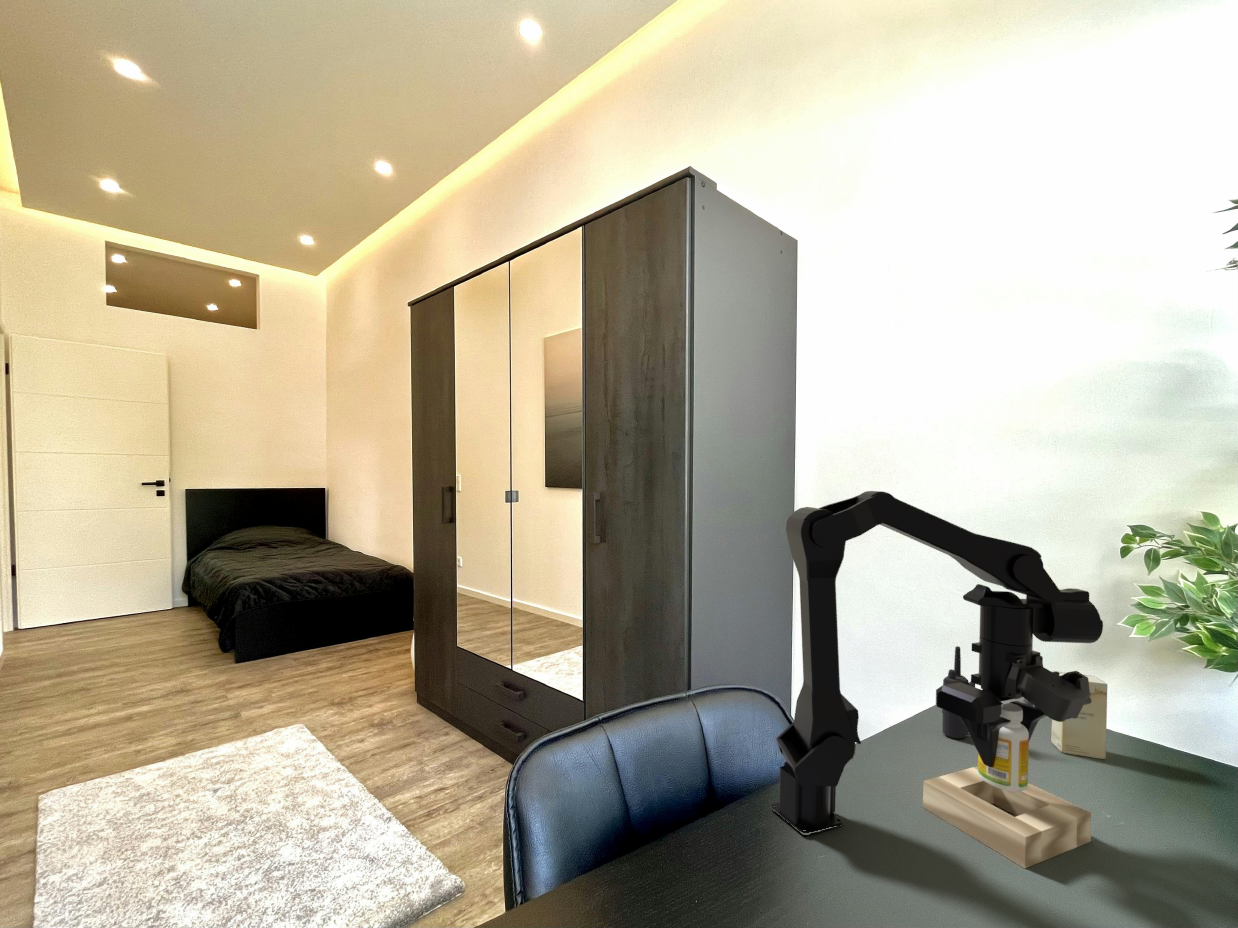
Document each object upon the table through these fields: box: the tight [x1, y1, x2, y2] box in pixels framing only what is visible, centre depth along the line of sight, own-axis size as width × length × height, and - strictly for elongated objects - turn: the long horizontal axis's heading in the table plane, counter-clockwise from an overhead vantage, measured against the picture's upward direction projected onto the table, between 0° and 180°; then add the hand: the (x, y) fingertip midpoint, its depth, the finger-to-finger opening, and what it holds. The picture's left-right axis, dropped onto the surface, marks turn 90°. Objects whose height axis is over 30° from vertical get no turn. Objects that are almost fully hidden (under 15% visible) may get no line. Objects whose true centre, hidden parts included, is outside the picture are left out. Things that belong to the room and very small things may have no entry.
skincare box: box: [1050, 670, 1108, 760], centre depth 96 cm, size 6×4×12 cm
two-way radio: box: [941, 646, 976, 740], centre depth 100 cm, size 6×4×15 cm
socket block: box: [922, 765, 1092, 869], centre depth 74 cm, size 13×13×4 cm
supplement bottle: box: [977, 702, 1030, 791], centre depth 75 cm, size 5×5×10 cm
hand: (1002, 761), depth 75 cm, fingers closed on supplement bottle, 5 cm apart
